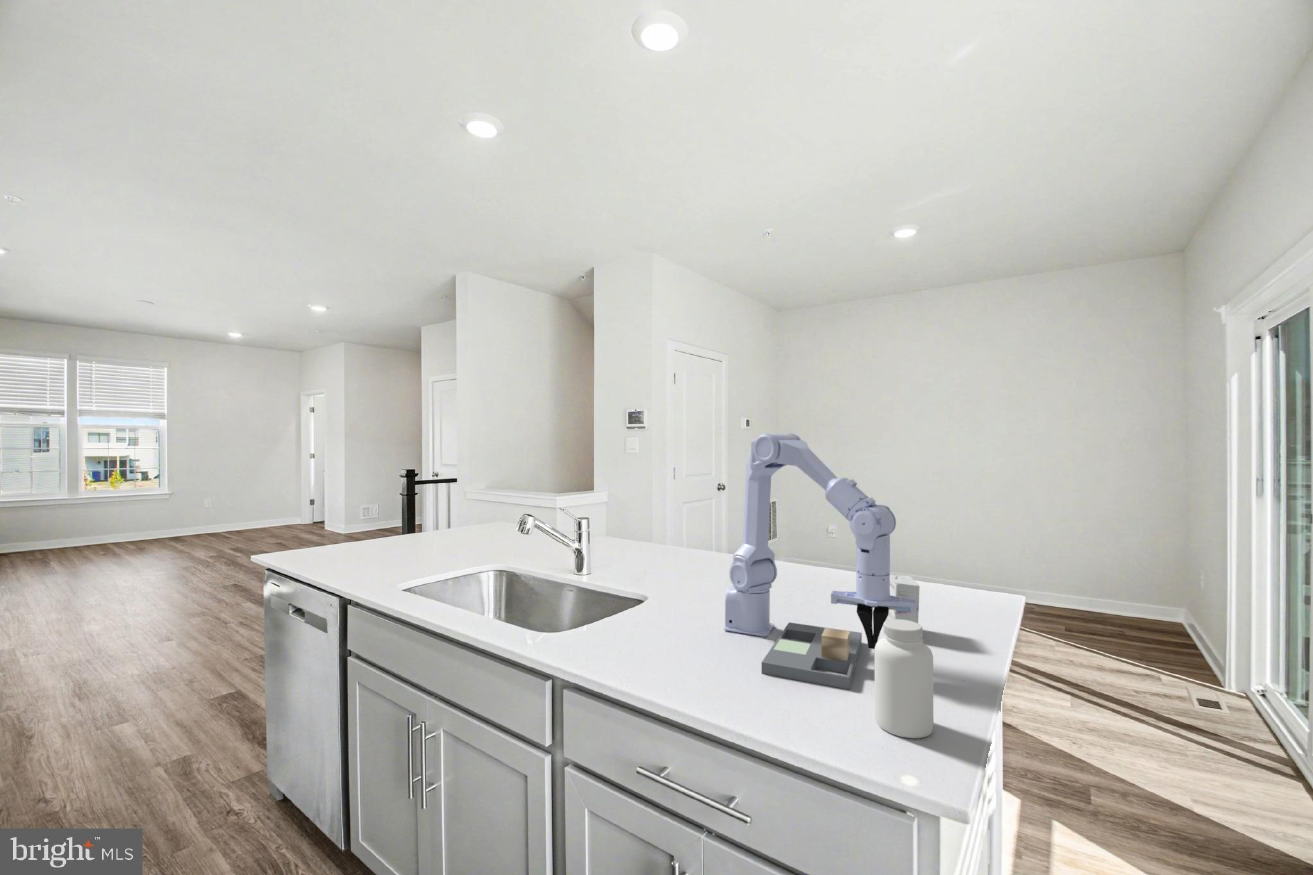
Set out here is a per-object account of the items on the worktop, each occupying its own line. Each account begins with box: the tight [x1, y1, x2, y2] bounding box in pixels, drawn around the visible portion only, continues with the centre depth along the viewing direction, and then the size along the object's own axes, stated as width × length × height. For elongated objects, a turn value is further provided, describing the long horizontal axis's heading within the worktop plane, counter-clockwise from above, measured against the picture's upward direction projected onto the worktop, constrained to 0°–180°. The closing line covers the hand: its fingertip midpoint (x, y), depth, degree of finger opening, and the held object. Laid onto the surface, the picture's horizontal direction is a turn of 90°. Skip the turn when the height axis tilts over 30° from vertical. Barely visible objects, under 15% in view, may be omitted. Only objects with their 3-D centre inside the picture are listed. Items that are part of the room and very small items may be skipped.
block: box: [821, 627, 851, 661], centre depth 104 cm, size 4×4×4 cm
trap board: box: [761, 622, 863, 690], centre depth 109 cm, size 15×24×2 cm, turn 155°
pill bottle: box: [874, 619, 934, 739], centre depth 83 cm, size 8×8×15 cm
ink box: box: [886, 573, 920, 624], centre depth 122 cm, size 9×5×12 cm, turn 168°
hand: (872, 647), depth 102 cm, fingers closed
